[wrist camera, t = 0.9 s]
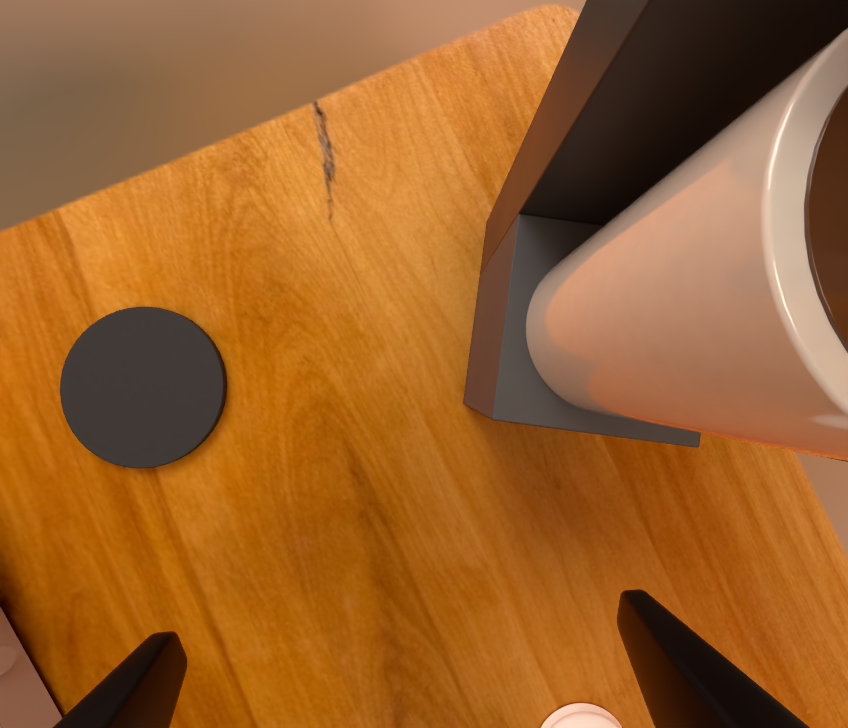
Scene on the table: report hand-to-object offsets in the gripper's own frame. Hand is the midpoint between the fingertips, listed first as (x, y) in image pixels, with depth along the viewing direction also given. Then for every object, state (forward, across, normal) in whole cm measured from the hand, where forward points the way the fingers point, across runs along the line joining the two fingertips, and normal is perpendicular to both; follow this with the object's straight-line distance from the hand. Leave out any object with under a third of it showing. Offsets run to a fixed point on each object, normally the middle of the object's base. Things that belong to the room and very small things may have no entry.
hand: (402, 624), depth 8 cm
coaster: (+15, +14, 0) cm, 20 cm away
